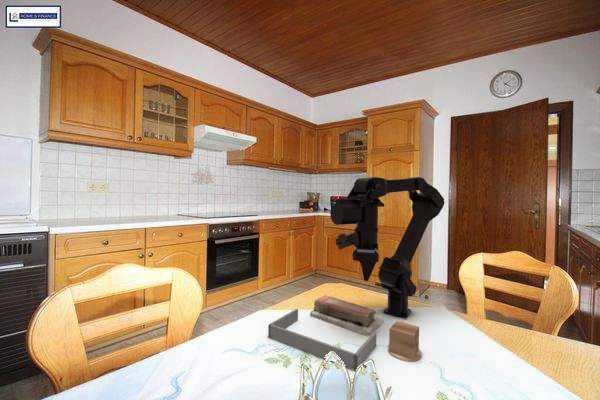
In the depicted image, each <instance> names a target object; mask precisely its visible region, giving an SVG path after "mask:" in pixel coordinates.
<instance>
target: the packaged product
mask: <svg viewBox="0 0 600 400" xmlns="http://www.w3.org/2000/svg"><path fill="white" fill-rule="evenodd" d="M313 305H314V306H313V310H311V311H310V313H309V316H310V315H311V316H310V317H312V316H313V317H312V318H315V317H316V318H315V319H317V318H318V320H320V319H321V320H320V321H322V322H326V323H328V324H331V325H334V326H337V327H340V328H342V329H345V330H347V331H351V332H353V333H357V334H359V335H363V336H366V337H370V336H371V335H372V333H373V332H376V331H377V330H378V329H379V328H380V327H381V326H383V324H384V322H385V320H384V319H381V318H378V317H375V314H376V310H374V309H372V308H369V307H366V306H363V305H359V304H358V303H357V304H356V303H354V302H350V301H347V300H343V299H341V298H336V297H334V296H330V295H324V296H323V295H322V297H321V296H320V297H318V298H317V299H315V300H314V303H313Z"/></svg>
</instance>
